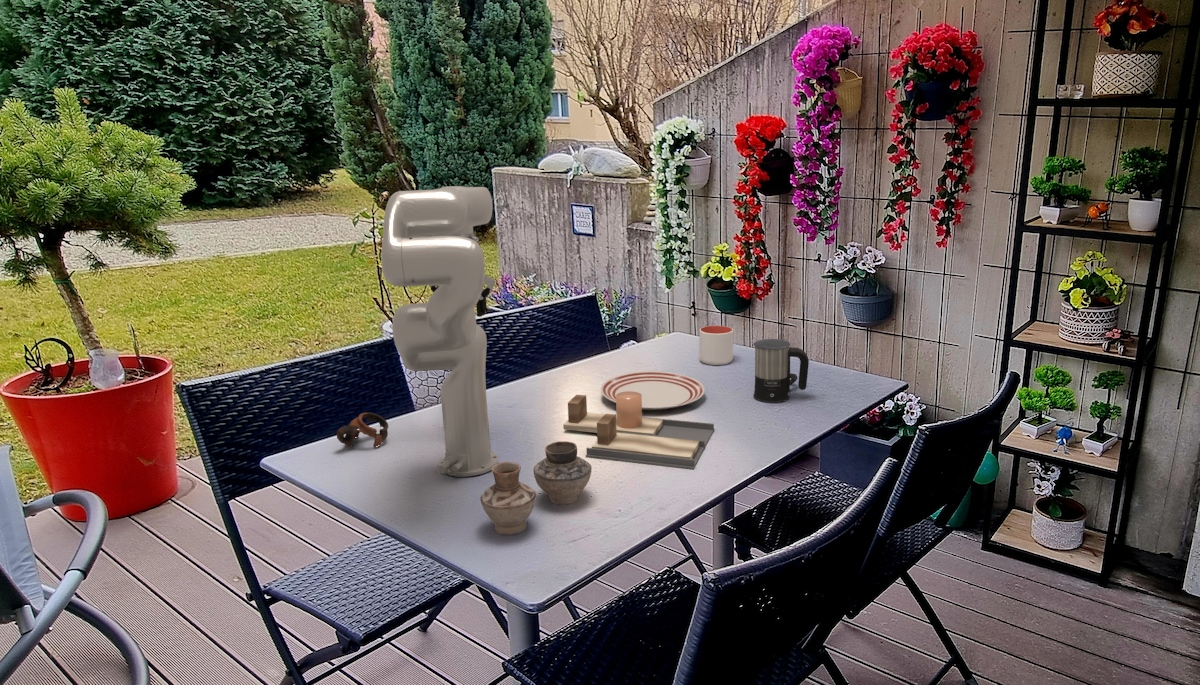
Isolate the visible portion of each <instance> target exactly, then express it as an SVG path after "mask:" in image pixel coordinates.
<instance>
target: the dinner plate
mask: <svg viewBox="0 0 1200 685" xmlns="http://www.w3.org/2000/svg"><path fill="white" fill-rule="evenodd" d="M627 391H632V392H638V393H640V394H641V395H642V411H662V409H664V410H668V409H669V408H670V409H674V408H680V407H682V406H687V405H690V404H692V403H694V402H696V401H698V400H700V399H701V398H702V397H703V396H704V395H705V393H706V392H705V391H706V388H705V386H704V385H703V383H701V382H700V381H699V380H697V379H695V378H693V377H691V376H687V375H684V374H680V373H676V372H670V371H658V370H656V371H653V370H651V371H649V370H646V371H645V370H643V371H634V372H628V373H623V374H619V375H616V376H614V377H611V378H609V379H607V380H606V381H604V382H603V383H602V384H601V386H600V393H601V395H602V396H603V397H604V398H605V399H607V400H608V401H610V402H612V403H614V404H616V395H617V394H618V393H621V392H627Z"/></svg>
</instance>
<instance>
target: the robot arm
mask: <svg viewBox="0 0 1200 685" xmlns="http://www.w3.org/2000/svg"><path fill="white" fill-rule="evenodd" d="M385 206H386V207H385V211H384V218H383V227H382V228H383V230H382V242H381V243H382V245H381V269H382V273H383V277H384V278H385V280H386V282H388V283H389V284H391V285H392V286H395V287H418V286H420V287H421V286H422V287H423V286H429V287H430V290H431V292H432V294H431V296H430V297H429V298H428V300H427V302H422V303H420V302H419V303H408V304H405V305H401V306H399V307H397V309H396V311H395V313H394V315H393V318H392V327H391V328H392V338H393V340H394V345H395V347H396V350H397V352H398V354H399V357H400V358H401V361H402V363H403V364H404V366H405V368H407V369H408V370H410V371H412V372H430V371H450V372H449V373H448V375H447V376H446V377H445V379H444V380H443V382H442V385H441V386H440V402H441V403H440V404H441V413H442V414H441V415H442V426H443V435H444V445H445V452H444V456H443V457H441V459H440V460H439V465H438V466H437V468H436V470H437V472H438V473H439V474H440V475H443V474H446V475H447V476H452V477H461V478H462V477H465V478H466V477H475V476H479V475H483V474H486V473H488V472H490V471H492V467H493V466H494V465H496V464H498V463H500V462H499V456H498V454H497V453H496V452H494V451H493V450H491V438H490V426H489V412H488V410H489V409H488V401H487V400H488V399H487V398H488V397H487V383H486V360H487V349H488V348H487V346H488V344H487V343H488V340H487V334H486V332H485V330H484V329H483V327H482V326H480V325H478V324H477V320H476V316H477V317H479V318H481V317H483V316H486V314H487V310H488V309H487V306H488V305H487V298H488V296H489V295H490V294H491V293H492V292H493V289H494V286H495V284H496V280H495V279H494V278H492V277H490V276H488V275H487V274H486V273H485V272H486V271H485V268H486V267H485V255H484V252H483V249H482V247H481V246H480V244H479V237H478V236H475V233H474V227H476V226H481V225H486V224H489V223H490V221H491V219H492V215H493V209H494V208H493V197H492V195H491V192H490V191H489V189H488V188H487V187H485V186H472V187H471V186H463V185H455V186H453V185H452V186H442V187H439V188H434V189H421V190H420V189H417V190H398V191H396V192H393V193H392V195H390V197H389V199H388V201H387V203H386V205H385ZM485 284H486V287H485ZM484 287H485V288H484ZM475 308H476V313H475Z"/></svg>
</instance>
